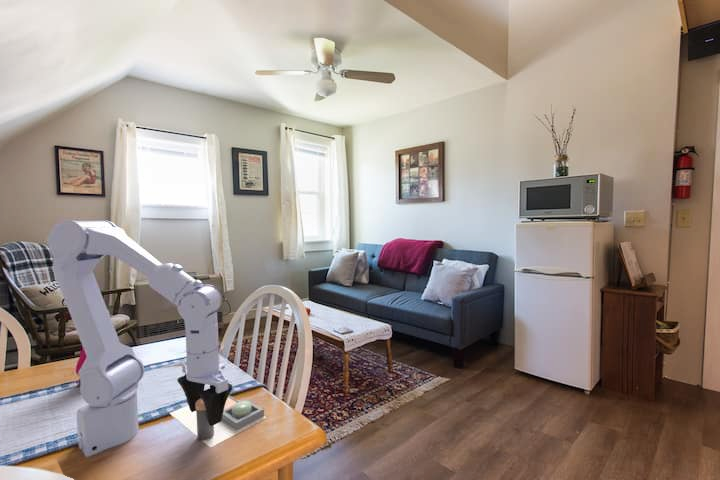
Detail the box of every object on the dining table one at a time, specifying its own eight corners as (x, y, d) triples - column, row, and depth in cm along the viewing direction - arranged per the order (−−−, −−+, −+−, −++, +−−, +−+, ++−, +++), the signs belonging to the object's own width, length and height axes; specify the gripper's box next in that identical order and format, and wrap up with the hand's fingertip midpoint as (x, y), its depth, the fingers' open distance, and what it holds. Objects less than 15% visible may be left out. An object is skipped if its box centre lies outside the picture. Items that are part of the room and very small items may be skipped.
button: (238, 420, 70) (238, 413, 70) (228, 414, 73) (228, 406, 73) (255, 412, 74) (255, 405, 73) (245, 406, 76) (244, 399, 76)
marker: (201, 442, 65) (200, 407, 64) (193, 436, 67) (192, 402, 66) (217, 434, 67) (216, 400, 67) (209, 428, 69) (208, 395, 69)
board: (208, 456, 62) (208, 443, 62) (164, 417, 75) (163, 406, 75) (271, 421, 73) (271, 410, 73) (223, 392, 86) (223, 383, 86)
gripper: (241, 351, 65) (244, 419, 65) (204, 335, 74) (207, 396, 74) (205, 363, 59) (208, 438, 60) (170, 345, 68) (173, 410, 69)
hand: (205, 416), depth 67 cm, fingers open, 7 cm apart
